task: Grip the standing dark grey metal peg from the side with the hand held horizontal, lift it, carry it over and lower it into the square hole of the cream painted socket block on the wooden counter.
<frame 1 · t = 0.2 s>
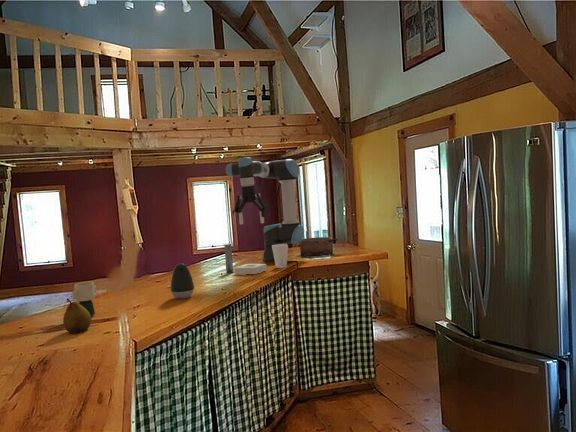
hand: (252, 223, 269), 27 cm above the counter, tool pointing down, fingers open, 13 cm apart
fruit: (78, 331, 167), on the counter
socket block: (251, 272, 270), on the counter
black egg shape: (183, 298, 213), on the counter
character mug: (86, 317, 189), on the counter
cooking pot: (316, 254, 331), on the counter
peg: (229, 272, 276), on the counter
foam cup: (281, 267, 284), on the counter
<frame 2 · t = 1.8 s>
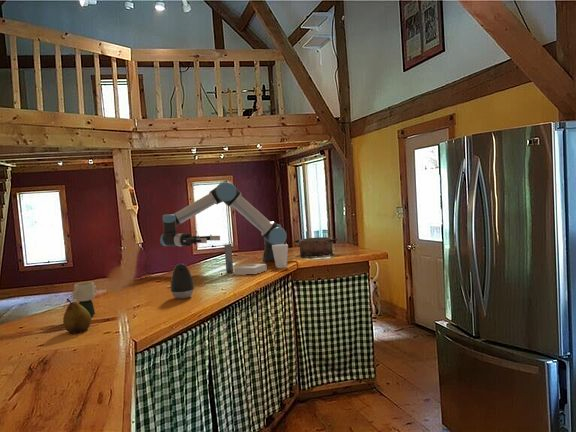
hand: (213, 239, 279), 19 cm above the counter, tool horizontal, fingers open, 13 cm apart
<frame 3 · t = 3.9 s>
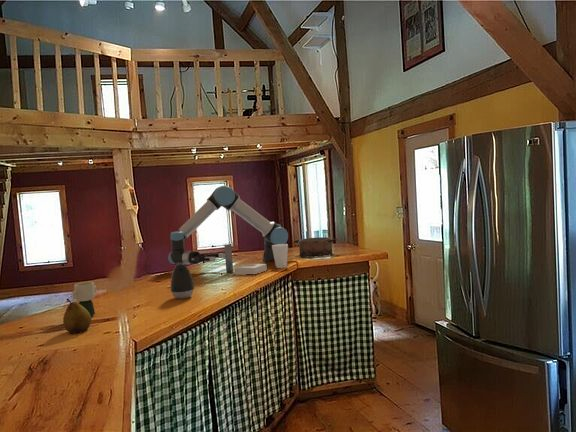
hand: (221, 257, 277), 9 cm above the counter, tool horizontal, fingers open, 13 cm apart
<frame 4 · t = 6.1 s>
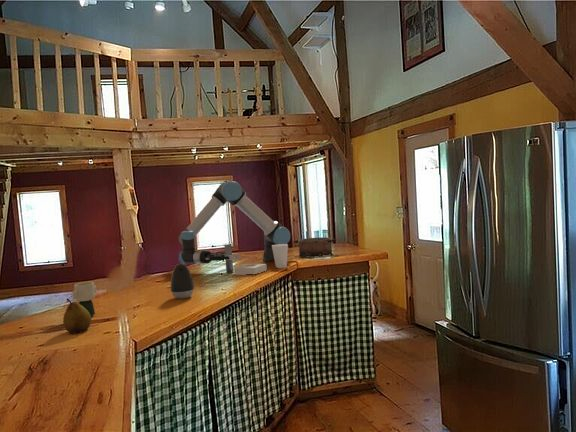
hand: (236, 256, 273), 9 cm above the counter, tool horizontal, fingers closed on peg, 4 cm apart
peg: (229, 272, 276), on the counter, touching gripper
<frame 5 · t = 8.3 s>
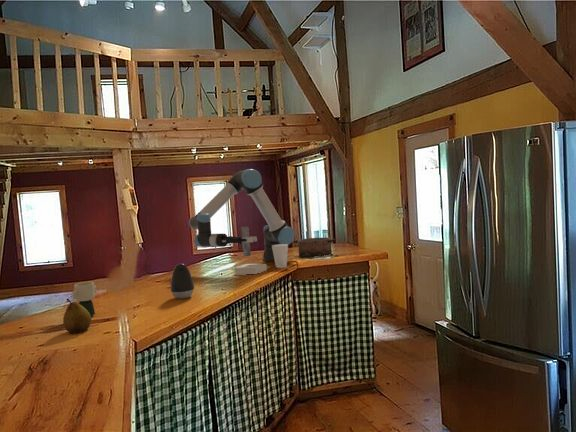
hand: (254, 239, 267), 19 cm above the counter, tool horizontal, fingers closed on peg, 4 cm apart
peg: (247, 255, 270), point 10 cm above the counter, touching gripper
when the fingers open (10 cm above the counter, at t = 10.7 s): peg drops 1 cm, resting in socket block.
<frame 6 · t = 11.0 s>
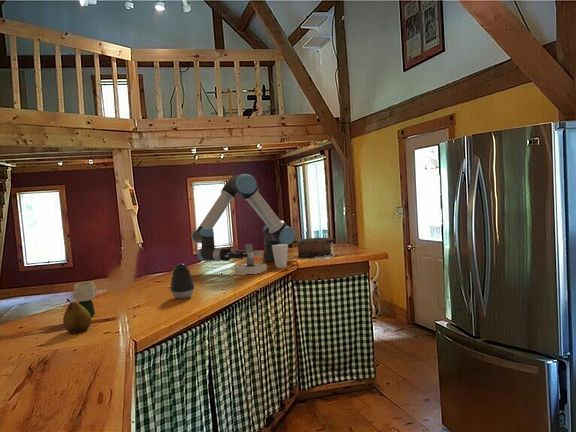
hand: (257, 254, 267), 10 cm above the counter, tool horizontal, fingers open, 8 cm apart
peg: (251, 272, 270), resting in socket block
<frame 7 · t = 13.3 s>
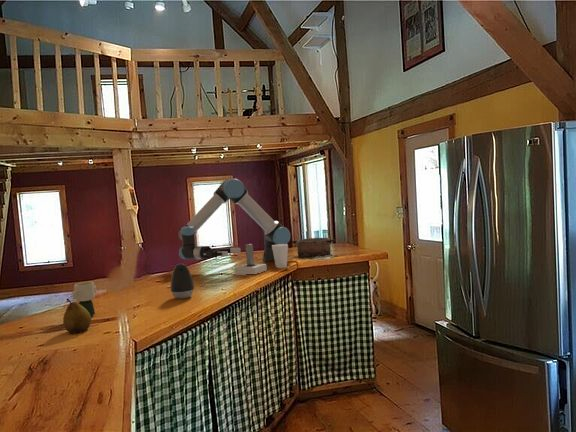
hand: (234, 251, 274), 12 cm above the counter, tool horizontal, fingers open, 13 cm apart
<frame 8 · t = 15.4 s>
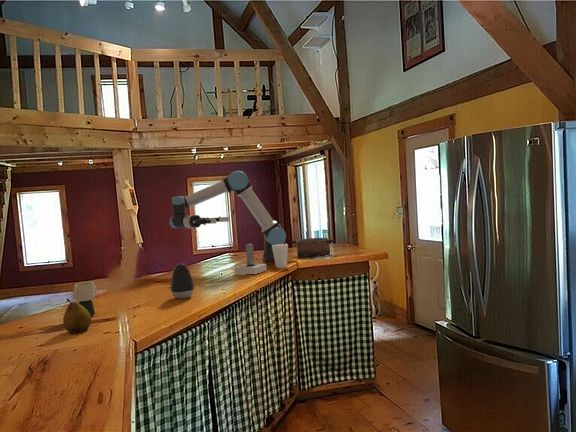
hand: (222, 220, 281), 30 cm above the counter, tool horizontal, fingers open, 13 cm apart
at the end: peg 0.1 cm off-centre on the socket block, point 0.0 cm above the socket block's base; peg tilted 0°; the gripper is holding nothing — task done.
